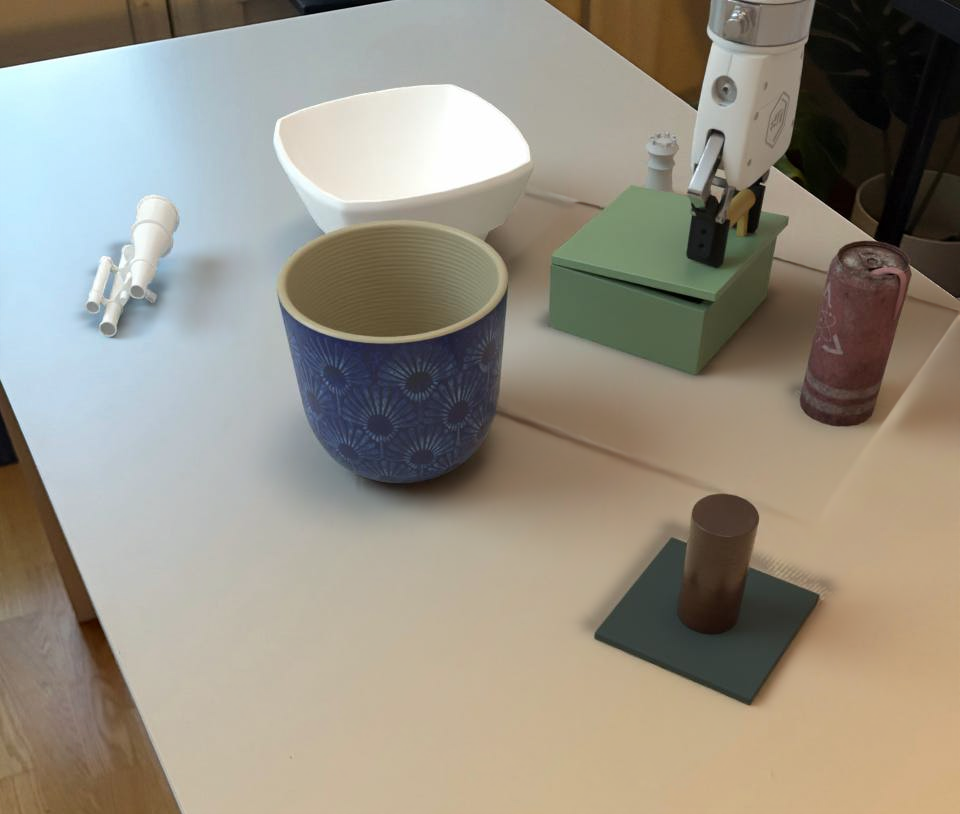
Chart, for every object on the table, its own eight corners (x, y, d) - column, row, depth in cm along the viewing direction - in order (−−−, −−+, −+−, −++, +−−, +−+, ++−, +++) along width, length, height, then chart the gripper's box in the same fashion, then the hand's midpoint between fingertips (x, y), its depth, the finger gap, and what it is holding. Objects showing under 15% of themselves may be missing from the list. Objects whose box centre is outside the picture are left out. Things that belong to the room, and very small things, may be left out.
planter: (363, 542, 93) (344, 368, 81) (267, 429, 102) (237, 258, 91) (547, 466, 99) (553, 293, 87) (440, 366, 108) (433, 198, 96)
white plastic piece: (129, 354, 113) (78, 319, 110) (150, 275, 122) (103, 241, 119) (177, 295, 109) (124, 257, 106) (195, 219, 118) (147, 182, 115)
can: (849, 445, 100) (891, 288, 89) (784, 414, 103) (817, 258, 92) (887, 412, 103) (933, 256, 92) (823, 383, 106) (860, 228, 95)
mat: (818, 600, 88) (820, 594, 88) (749, 705, 82) (751, 699, 82) (670, 542, 93) (671, 536, 92) (593, 638, 86) (594, 632, 86)
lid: (788, 225, 107) (794, 172, 104) (715, 302, 99) (719, 248, 96) (630, 193, 114) (632, 142, 110) (550, 263, 106) (549, 211, 102)
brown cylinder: (748, 605, 87) (770, 507, 80) (722, 643, 85) (742, 545, 78) (693, 583, 89) (709, 485, 82) (666, 619, 87) (680, 521, 80)
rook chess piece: (625, 220, 124) (632, 140, 118) (647, 202, 127) (654, 123, 120) (663, 232, 123) (672, 152, 116) (685, 214, 125) (694, 134, 119)
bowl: (340, 342, 111) (326, 219, 102) (266, 232, 124) (248, 114, 115) (558, 287, 116) (563, 165, 107) (465, 187, 129) (463, 71, 120)
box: (764, 305, 114) (777, 235, 108) (694, 384, 106) (704, 312, 101) (624, 263, 119) (630, 193, 114) (547, 335, 111) (550, 264, 106)
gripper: (758, 65, 84) (717, 303, 98) (852, -13, 93) (803, 214, 107) (661, 41, 87) (635, 276, 100) (762, -33, 96) (725, 191, 110)
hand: (722, 242), depth 104 cm, fingers closed on lid, 6 cm apart
